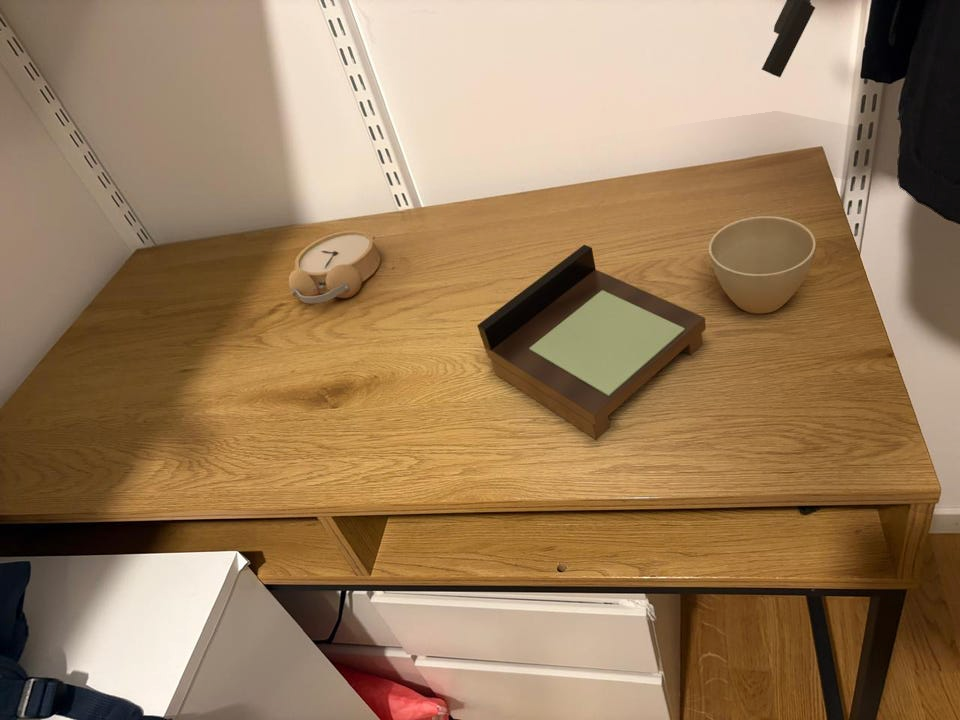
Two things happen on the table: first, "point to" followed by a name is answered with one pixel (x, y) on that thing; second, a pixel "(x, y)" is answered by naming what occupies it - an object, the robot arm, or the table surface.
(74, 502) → the table surface
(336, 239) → the alarm clock
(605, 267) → the table surface
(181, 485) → the table surface
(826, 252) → the table surface
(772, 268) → the flower pot
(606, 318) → the tray
